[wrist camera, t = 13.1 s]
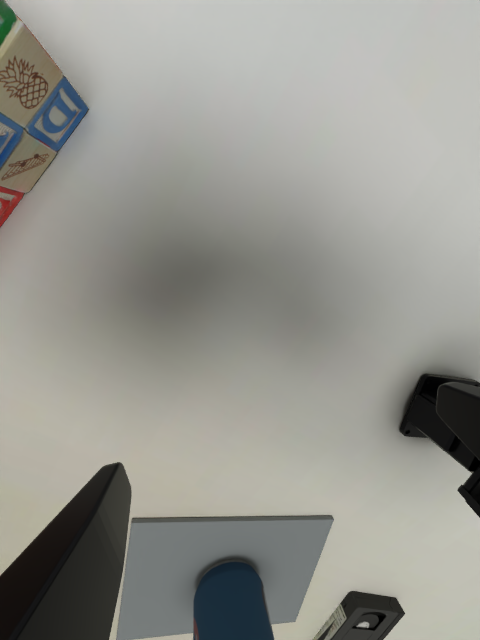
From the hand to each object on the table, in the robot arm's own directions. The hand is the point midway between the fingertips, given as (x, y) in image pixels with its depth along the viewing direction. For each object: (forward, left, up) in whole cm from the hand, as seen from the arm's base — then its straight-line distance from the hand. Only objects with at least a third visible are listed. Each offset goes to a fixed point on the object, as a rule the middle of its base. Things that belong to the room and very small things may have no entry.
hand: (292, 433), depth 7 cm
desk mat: (-5, +28, -13) cm, 31 cm away
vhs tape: (-23, +40, -14) cm, 48 cm away
